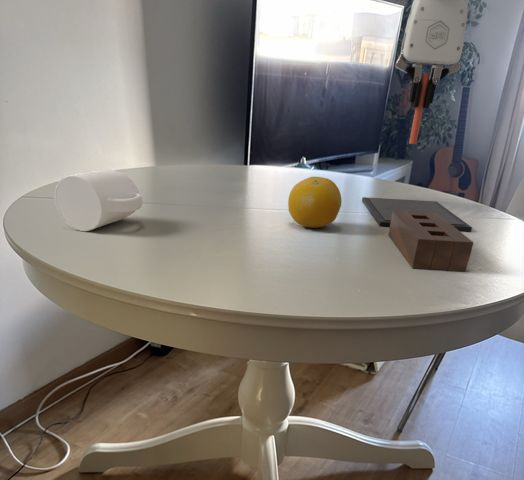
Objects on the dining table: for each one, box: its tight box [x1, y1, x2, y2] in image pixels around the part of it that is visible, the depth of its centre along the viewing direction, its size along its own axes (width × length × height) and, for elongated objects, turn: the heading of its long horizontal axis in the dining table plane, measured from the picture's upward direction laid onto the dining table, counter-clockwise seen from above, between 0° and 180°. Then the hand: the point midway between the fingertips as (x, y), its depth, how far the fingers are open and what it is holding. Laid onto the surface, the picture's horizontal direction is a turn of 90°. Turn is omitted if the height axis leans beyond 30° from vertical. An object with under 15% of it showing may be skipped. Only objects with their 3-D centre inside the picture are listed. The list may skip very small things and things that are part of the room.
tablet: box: [361, 196, 473, 233], centre depth 93 cm, size 16×22×1 cm
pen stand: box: [387, 211, 474, 273], centre depth 71 cm, size 7×17×4 cm, turn 178°
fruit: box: [287, 176, 343, 229], centre depth 79 cm, size 9×8×8 cm
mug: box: [54, 168, 143, 232], centre depth 74 cm, size 12×9×8 cm
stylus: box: [408, 73, 431, 145], centre depth 92 cm, size 1×1×12 cm
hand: (419, 106), depth 91 cm, fingers closed on stylus, 1 cm apart
